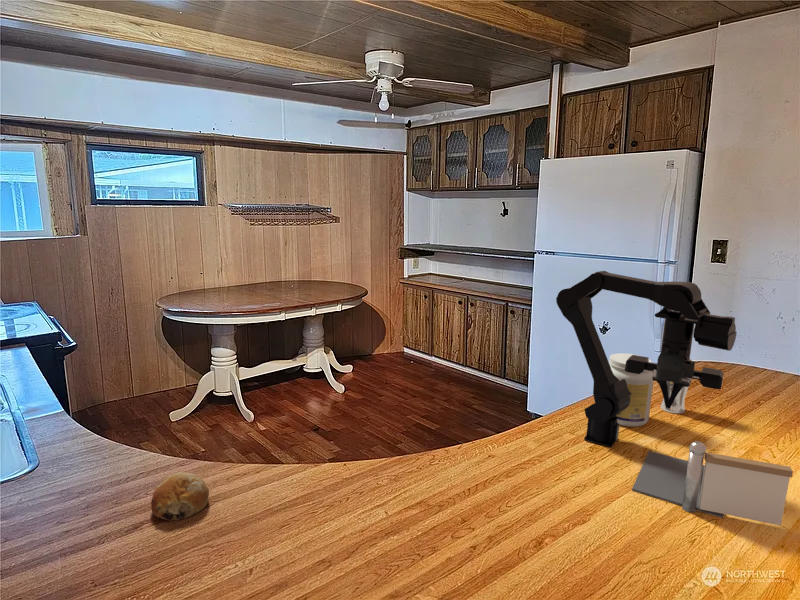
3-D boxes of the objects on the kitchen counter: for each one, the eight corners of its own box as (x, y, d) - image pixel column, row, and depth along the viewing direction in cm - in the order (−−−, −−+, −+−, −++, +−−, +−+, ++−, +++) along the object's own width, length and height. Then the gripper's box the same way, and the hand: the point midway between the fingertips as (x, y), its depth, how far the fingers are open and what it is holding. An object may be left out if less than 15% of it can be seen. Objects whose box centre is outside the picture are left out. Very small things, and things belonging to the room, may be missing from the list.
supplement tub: (610, 405, 150) (616, 349, 147) (655, 418, 142) (662, 359, 138) (592, 417, 141) (598, 358, 138) (638, 432, 133) (646, 369, 130)
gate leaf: (698, 509, 99) (706, 456, 97) (697, 504, 101) (705, 452, 98) (782, 526, 94) (793, 471, 92) (779, 521, 96) (789, 466, 94)
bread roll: (215, 519, 100) (224, 476, 102) (179, 527, 91) (190, 479, 92) (173, 508, 103) (183, 467, 105) (134, 515, 94) (146, 469, 96)
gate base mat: (631, 490, 107) (632, 488, 106) (648, 452, 123) (649, 450, 123) (723, 518, 98) (723, 516, 98) (728, 473, 114) (728, 471, 114)
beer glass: (689, 415, 144) (697, 363, 141) (662, 413, 146) (669, 361, 143) (681, 405, 151) (688, 356, 148) (656, 403, 152) (662, 354, 149)
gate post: (690, 514, 99) (700, 446, 96) (677, 506, 101) (686, 440, 98) (700, 511, 100) (710, 443, 97) (686, 503, 102) (696, 437, 100)
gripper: (623, 340, 112) (615, 409, 115) (725, 357, 101) (713, 431, 104) (633, 330, 121) (626, 394, 124) (728, 344, 110) (717, 413, 113)
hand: (668, 407), depth 116 cm, fingers closed
